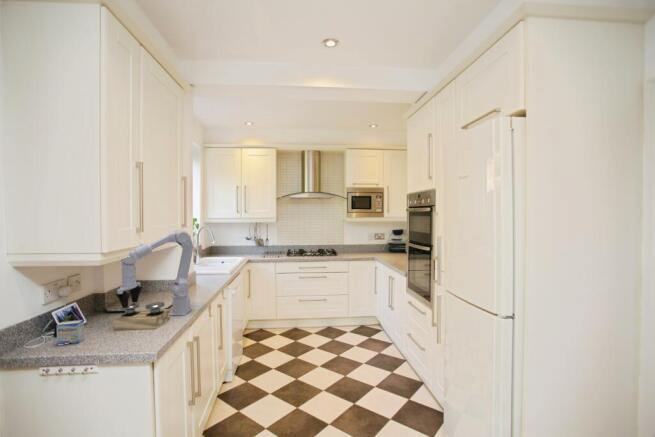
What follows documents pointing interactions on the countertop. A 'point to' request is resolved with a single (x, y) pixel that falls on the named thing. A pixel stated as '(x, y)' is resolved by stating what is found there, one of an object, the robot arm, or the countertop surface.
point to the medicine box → (70, 332)
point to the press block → (141, 320)
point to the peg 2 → (155, 307)
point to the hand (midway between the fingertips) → (130, 304)
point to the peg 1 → (130, 308)
